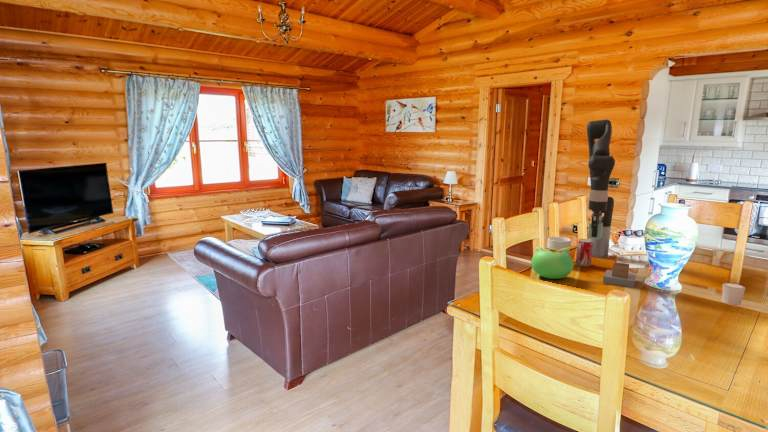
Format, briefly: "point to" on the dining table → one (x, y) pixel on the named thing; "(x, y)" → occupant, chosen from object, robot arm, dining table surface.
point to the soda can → (584, 252)
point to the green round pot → (552, 262)
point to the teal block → (599, 232)
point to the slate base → (619, 279)
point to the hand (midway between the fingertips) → (595, 235)
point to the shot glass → (732, 293)
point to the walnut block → (620, 269)
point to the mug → (559, 243)
